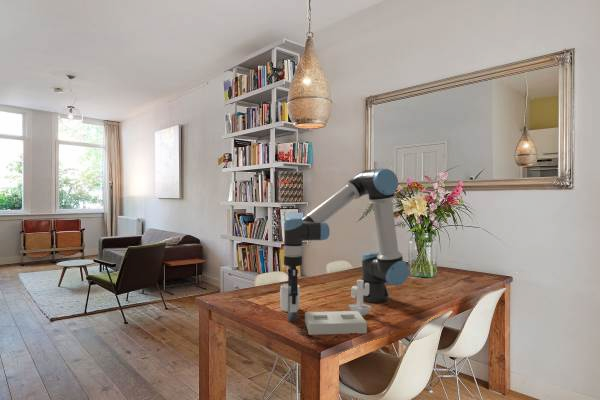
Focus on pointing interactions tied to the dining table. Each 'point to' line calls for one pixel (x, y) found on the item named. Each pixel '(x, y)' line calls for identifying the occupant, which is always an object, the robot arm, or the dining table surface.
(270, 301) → the dining table surface
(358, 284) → the figurine
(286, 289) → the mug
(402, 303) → the dining table surface
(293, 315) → the steel pin
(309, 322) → the bore block
